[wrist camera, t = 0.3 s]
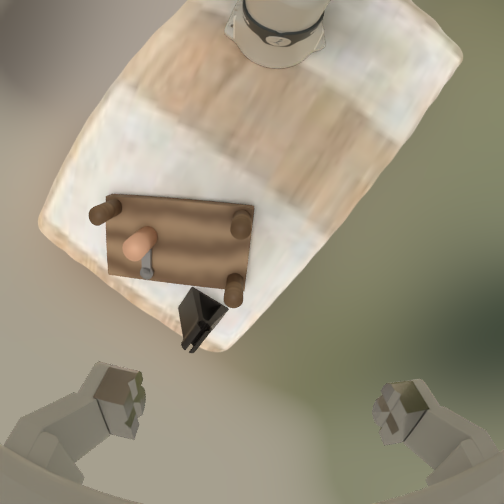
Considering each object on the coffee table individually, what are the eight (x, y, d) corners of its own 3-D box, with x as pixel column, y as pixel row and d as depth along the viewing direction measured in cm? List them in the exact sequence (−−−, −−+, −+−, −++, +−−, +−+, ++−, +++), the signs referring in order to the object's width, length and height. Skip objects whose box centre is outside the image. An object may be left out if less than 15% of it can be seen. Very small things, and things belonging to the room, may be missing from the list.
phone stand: (178, 306, 60) (165, 339, 48) (192, 286, 58) (180, 317, 47) (213, 327, 62) (208, 363, 50) (228, 308, 60) (225, 342, 49)
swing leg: (157, 278, 54) (145, 296, 47) (138, 276, 54) (124, 293, 47) (157, 227, 51) (144, 239, 44) (137, 225, 50) (122, 236, 43)
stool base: (112, 193, 51) (86, 203, 42) (253, 205, 53) (255, 218, 43) (114, 268, 57) (92, 290, 47) (244, 284, 58) (244, 311, 48)
